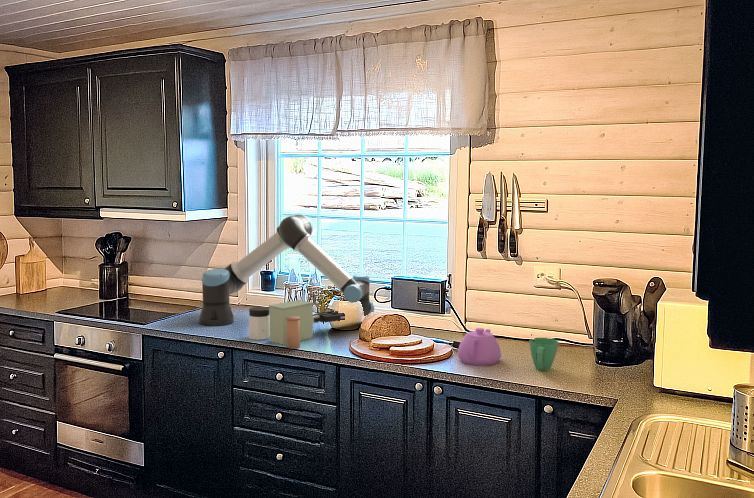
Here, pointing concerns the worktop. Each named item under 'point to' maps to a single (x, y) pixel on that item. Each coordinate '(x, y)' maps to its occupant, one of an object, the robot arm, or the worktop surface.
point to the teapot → (479, 348)
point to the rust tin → (293, 332)
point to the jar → (259, 323)
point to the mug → (543, 352)
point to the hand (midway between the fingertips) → (306, 320)
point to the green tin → (286, 310)
